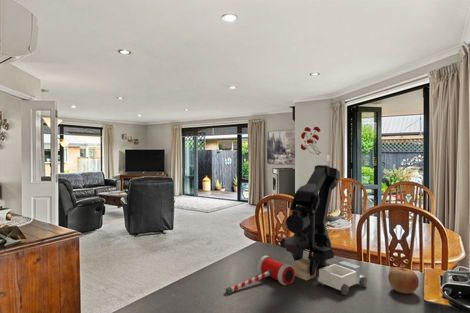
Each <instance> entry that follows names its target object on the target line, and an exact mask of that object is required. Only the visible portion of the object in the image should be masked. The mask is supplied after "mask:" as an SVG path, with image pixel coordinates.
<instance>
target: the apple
mask: <svg viewBox="0 0 470 313" xmlns="http://www.w3.org/2000/svg"><path fill="white" fill-rule="evenodd" d="M400 266H401V267H399V266H395V267H392V268H391V269H390V271H389V272H388V277H387V278H388V282H389V284H390V287H391V288H392V289H393V290H395V292H398V293H400V294H412V293H414V292H416V290H417V289H418V288H419V284H420V283H419V281H420V280H419V277H418V276H417V274H416V272H415V271H413V270H412V269H409V268H404V267H403V264H401V265H400Z"/></svg>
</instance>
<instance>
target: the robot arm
mask: <svg viewBox="0 0 470 313" xmlns="http://www.w3.org/2000/svg"><path fill="white" fill-rule="evenodd" d="M313 169H314V170H313V172H312V174H310V176H309V178H308V180H307V182H306V184H304V185H301V186H299V187H298V189H297V190H296V192H295V193H294V195H293V199H292V202H291V205H290V211H291V214H290V215H289V216H288V217H287V218H286V220H285V225H286V229H287V230H288V231H289V232H290V233H293V235H292V236H287V237H282V238H281V240H280V241H279V247H281V248H284V249H285V251H286V252H287V253H290V255H291V256H292V258H293V260H294V262H295V261H296V260H299V259H303V258H304V257H303V256H304V251H306V252H308V256H307V259H309V260H310V276H313V274H314V272H315V270H316V271H317V269H318V270H319V269H321V268H324V267H327V266H330V264H329V263H327V260H331V259H334V257H335V251H334V250H333V249H332V242H331V238H330V237H329V231H328V228H327V226H326V224H327V219H328V213H329V207H330V203H331V197H332V192H333V190H334V189H335V188H336V187H337V186H338V183H339V181H340V180H341V172H340V171H339V170H338V168H334V167H331V166H330V165H327V164H317V165H314V168H313Z"/></svg>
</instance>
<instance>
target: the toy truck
mask: <svg viewBox="0 0 470 313" xmlns="http://www.w3.org/2000/svg"><path fill="white" fill-rule="evenodd" d="M367 283H368V279H367V277H365V275H362V274H361V266H360V265H357V264H355V263H354V264H353V263H350V262H348V261H345V260H343V261H340V262H338V264H335V263H333V264H331V265H330V266H327V267H324V268H321V269H318V275H317V274H316V277H315V284H316V285H319V286H321V285H322V284H324V285H326V286H329V287H331V288H333V289H335V290H338V291H340V292H341V295H342V296H348V295H349V292H350V287H351V286H355V285H357V284H359V286H360V287H362V288H365V287H366V286H367Z"/></svg>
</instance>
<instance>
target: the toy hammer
mask: <svg viewBox="0 0 470 313" xmlns="http://www.w3.org/2000/svg"><path fill="white" fill-rule="evenodd" d="M256 267H257V268H256V269H257V272H258V273H259V275H258V274H257V275H256V276H253V277H251V278H249V279H248V280H247V279H246V280H244V281H242V282H240V283H238V284H235V285H234V286H228V287H226V288H225V293H226V294H227V295H232V294H233V293H234V292H236V291H238V290H240V289H242V288H245V287H247V286H249V285H251V284H253V283H255V282H258V281H260V280H262V279H265V278H266V277H270V278H273V279H275V280H276V281H278V282H279V284H281V285H283V286H288V285H291V284H292V283H293V282H294V279H295V277H296V276H295V266H293V265H291V264H288V263H283V262H282V263H281V262H279V261H277V260H275V259H273V257H271V256H270V255H262V257H261V258H259V259H258V263H257V266H256Z"/></svg>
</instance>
